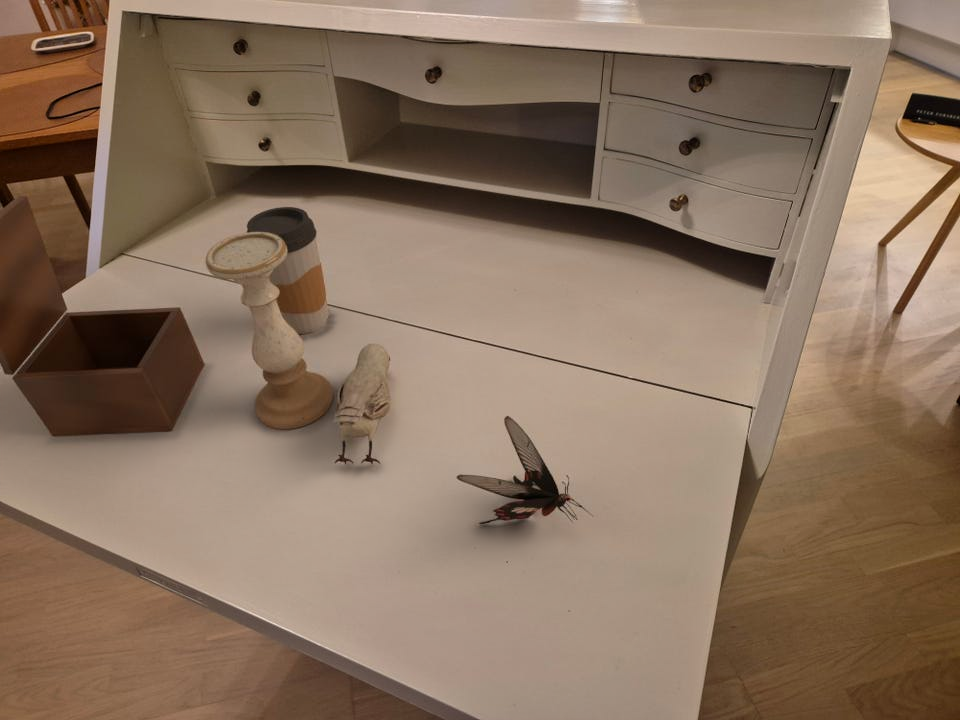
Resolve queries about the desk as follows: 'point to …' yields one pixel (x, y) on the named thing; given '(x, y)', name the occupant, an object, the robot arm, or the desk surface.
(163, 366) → the keepsake box
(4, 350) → the lid
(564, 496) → the butterfly
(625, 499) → the desk surface
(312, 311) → the coffee cup
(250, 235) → the candle holder
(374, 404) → the decorative bird
